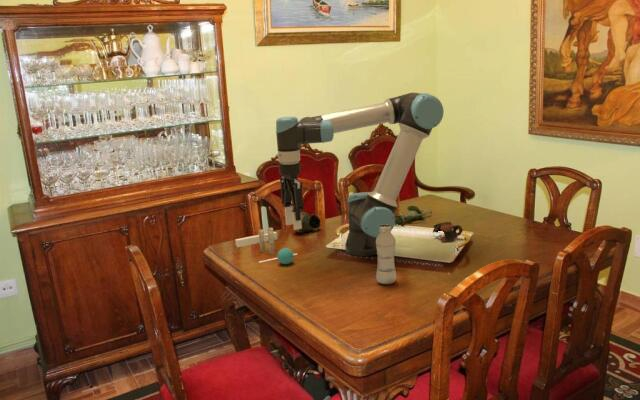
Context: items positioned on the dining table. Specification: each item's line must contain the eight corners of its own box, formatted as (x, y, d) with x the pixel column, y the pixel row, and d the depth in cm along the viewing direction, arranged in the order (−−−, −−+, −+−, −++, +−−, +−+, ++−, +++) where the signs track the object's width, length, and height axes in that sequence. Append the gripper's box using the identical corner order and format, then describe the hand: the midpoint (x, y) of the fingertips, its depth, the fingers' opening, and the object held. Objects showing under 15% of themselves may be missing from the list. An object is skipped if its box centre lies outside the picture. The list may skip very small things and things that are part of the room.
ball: (297, 262, 211) (296, 247, 209) (287, 267, 206) (286, 252, 204) (285, 260, 214) (283, 245, 213) (274, 264, 209) (273, 249, 208)
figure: (413, 214, 271) (380, 226, 254) (411, 199, 269) (379, 211, 252) (442, 216, 259) (410, 230, 242) (441, 201, 258) (409, 213, 241)
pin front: (275, 253, 222) (273, 231, 220) (272, 254, 221) (270, 232, 219) (271, 252, 224) (270, 230, 221) (268, 253, 222) (266, 232, 220)
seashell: (316, 236, 241) (315, 214, 238) (291, 236, 243) (289, 214, 241) (321, 229, 251) (320, 207, 249) (297, 229, 253) (295, 207, 251)
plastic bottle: (374, 280, 190) (372, 223, 185) (394, 278, 190) (393, 222, 186) (378, 287, 184) (376, 229, 179) (398, 285, 184) (397, 227, 179)
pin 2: (275, 249, 227) (274, 227, 225) (272, 250, 226) (270, 229, 224) (271, 248, 228) (270, 227, 226) (268, 249, 227) (267, 228, 225)
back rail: (275, 238, 241) (275, 231, 241) (277, 239, 240) (276, 232, 239) (235, 246, 234) (235, 239, 233) (237, 247, 232) (236, 240, 231)
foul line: (296, 253, 220) (296, 253, 220) (297, 254, 219) (297, 254, 219) (258, 262, 213) (258, 261, 213) (259, 263, 212) (259, 262, 212)
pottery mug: (434, 244, 224) (429, 224, 227) (437, 247, 233) (433, 228, 235) (464, 237, 221) (459, 217, 223) (466, 241, 230) (462, 221, 232)
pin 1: (266, 251, 225) (264, 229, 223) (263, 252, 224) (261, 231, 222) (262, 250, 227) (261, 229, 224) (259, 251, 225) (257, 230, 223)
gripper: (268, 160, 199) (273, 222, 204) (290, 167, 182) (295, 235, 188) (288, 157, 202) (292, 218, 208) (311, 164, 185) (315, 231, 191)
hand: (293, 226), depth 198 cm, fingers open, 6 cm apart
